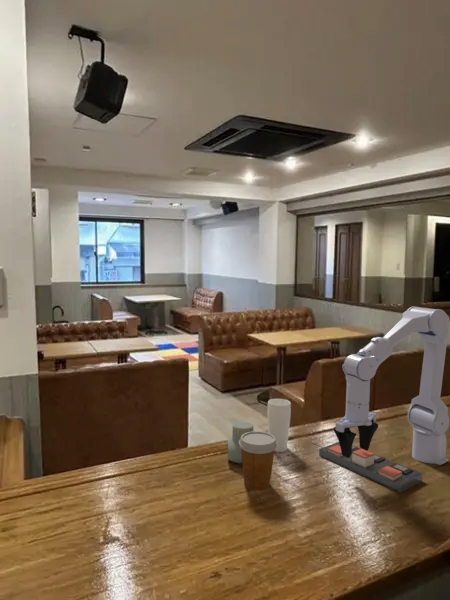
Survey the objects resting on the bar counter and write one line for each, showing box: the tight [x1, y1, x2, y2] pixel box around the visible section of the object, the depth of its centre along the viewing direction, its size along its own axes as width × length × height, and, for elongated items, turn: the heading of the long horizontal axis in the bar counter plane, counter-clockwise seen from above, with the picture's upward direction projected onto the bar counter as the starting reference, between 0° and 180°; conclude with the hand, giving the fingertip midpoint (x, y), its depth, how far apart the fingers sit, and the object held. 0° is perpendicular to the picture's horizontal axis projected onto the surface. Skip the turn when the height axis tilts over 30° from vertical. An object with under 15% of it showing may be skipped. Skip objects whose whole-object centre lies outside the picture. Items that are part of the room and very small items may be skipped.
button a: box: [328, 445, 343, 457], centre depth 122 cm, size 4×4×3 cm
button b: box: [352, 449, 375, 468], centre depth 116 cm, size 4×4×3 cm
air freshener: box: [227, 421, 254, 465], centre depth 123 cm, size 11×8×10 cm
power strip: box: [311, 441, 423, 494], centre depth 120 cm, size 10×32×4 cm, turn 37°
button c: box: [378, 466, 402, 481], centre depth 109 cm, size 4×4×3 cm
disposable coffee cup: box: [239, 430, 277, 491], centre depth 109 cm, size 10×10×12 cm
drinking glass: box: [267, 398, 292, 453], centre depth 128 cm, size 7×7×15 cm
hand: (355, 452), depth 113 cm, fingers open, 7 cm apart
